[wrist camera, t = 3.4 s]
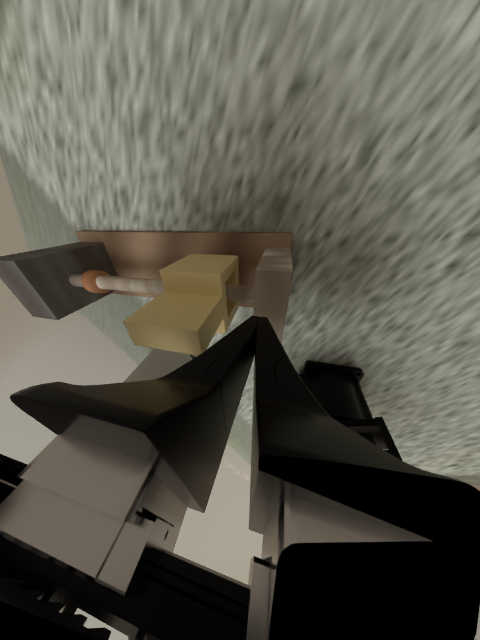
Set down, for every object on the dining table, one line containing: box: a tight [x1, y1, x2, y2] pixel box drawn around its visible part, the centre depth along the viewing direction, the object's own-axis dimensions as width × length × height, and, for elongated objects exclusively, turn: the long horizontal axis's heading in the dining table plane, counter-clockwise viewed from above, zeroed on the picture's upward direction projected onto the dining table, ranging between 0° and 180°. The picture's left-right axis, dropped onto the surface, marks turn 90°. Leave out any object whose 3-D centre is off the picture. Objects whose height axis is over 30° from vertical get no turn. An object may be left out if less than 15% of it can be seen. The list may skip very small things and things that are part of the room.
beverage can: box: [123, 348, 192, 383], centre depth 22 cm, size 6×6×12 cm
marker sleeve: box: [123, 254, 239, 356], centre depth 12 cm, size 4×4×8 cm
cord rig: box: [0, 231, 293, 343], centre depth 15 cm, size 22×7×8 cm, turn 91°
